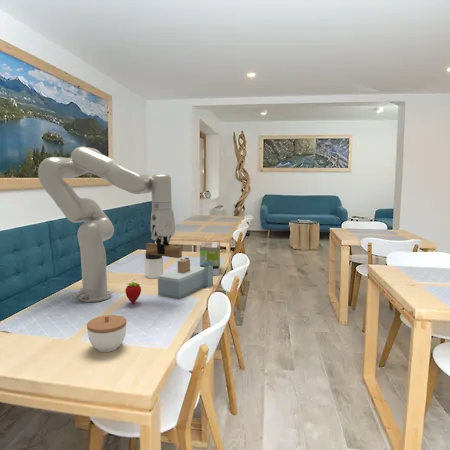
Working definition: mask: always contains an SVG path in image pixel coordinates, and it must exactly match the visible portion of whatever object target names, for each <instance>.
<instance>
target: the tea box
mask: <svg viewBox="0 0 450 450" xmlns="http://www.w3.org/2000/svg"><path fill="white" fill-rule="evenodd" d="M209 260H210V261H213V276H219V274H220V268H221V242H214V241H213V242H211V241H210V242H207V241H205V242H204V241H202V243H201V245H200V246H199V267H204V262H208V261H209Z"/></svg>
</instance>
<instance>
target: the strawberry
mask: <svg viewBox="0 0 450 450" xmlns="http://www.w3.org/2000/svg"><path fill="white" fill-rule="evenodd" d="M135 279H136V278H135ZM135 279H133V281H131V282H129V283H126V285H127V286H126V287H125V295H126V297H127V299H128V301H129V302H130V303H131V304H133V305H135V304H136V302H137V300H138V299H139V297H140V296H141V293H142V287H141V284H139V283H138V282H134V281H135Z"/></svg>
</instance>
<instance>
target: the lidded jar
mask: <svg viewBox="0 0 450 450" xmlns="http://www.w3.org/2000/svg"><path fill="white" fill-rule="evenodd" d="M86 328H87V329H86V330H87V335H88V336H87V337H88V340H89V342H90V344H91V346H92V347H93V348H94V349H96V350H97V352H100V353H110V352H114V351H115V350H117V349H118V348H119V347H120V345H122V343H123V342H124V340H125V337H126V331H127V319H126V317H124V316H122V315H118V314H105V315H101V316H97V317H94V318H93V319H92V318H91V320H89V321H88V322H87V323H86Z"/></svg>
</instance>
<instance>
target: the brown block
mask: <svg viewBox="0 0 450 450" xmlns="http://www.w3.org/2000/svg"><path fill="white" fill-rule="evenodd" d="M164 250H165V254H158V253H157V244H156V243H155V242H154V243H152V242H148V243H145V253H146V254H152V255H159V256H162V257H167V258H173V259H182V258H183V247H182V246H177V245H170V244H169V245H164Z"/></svg>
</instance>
